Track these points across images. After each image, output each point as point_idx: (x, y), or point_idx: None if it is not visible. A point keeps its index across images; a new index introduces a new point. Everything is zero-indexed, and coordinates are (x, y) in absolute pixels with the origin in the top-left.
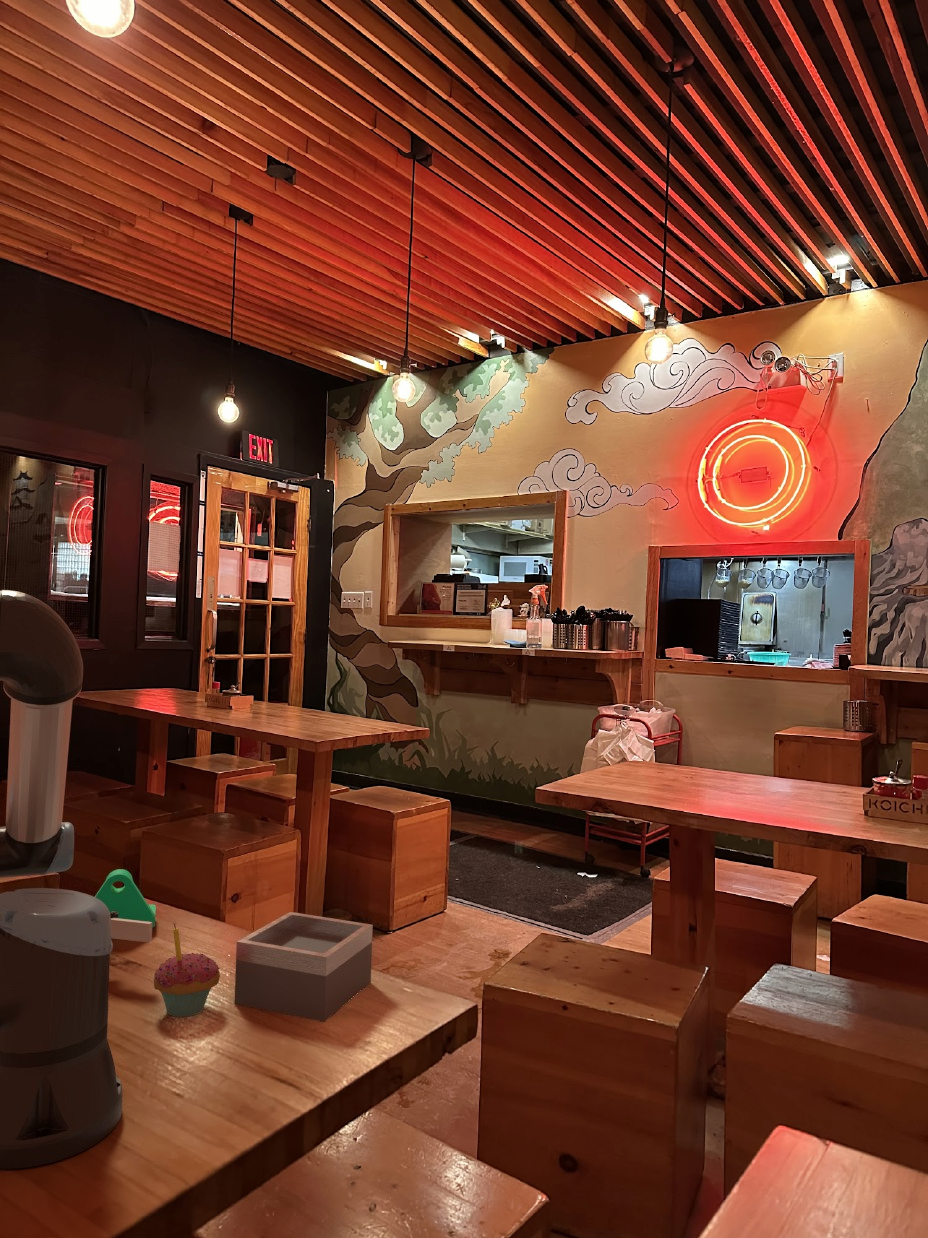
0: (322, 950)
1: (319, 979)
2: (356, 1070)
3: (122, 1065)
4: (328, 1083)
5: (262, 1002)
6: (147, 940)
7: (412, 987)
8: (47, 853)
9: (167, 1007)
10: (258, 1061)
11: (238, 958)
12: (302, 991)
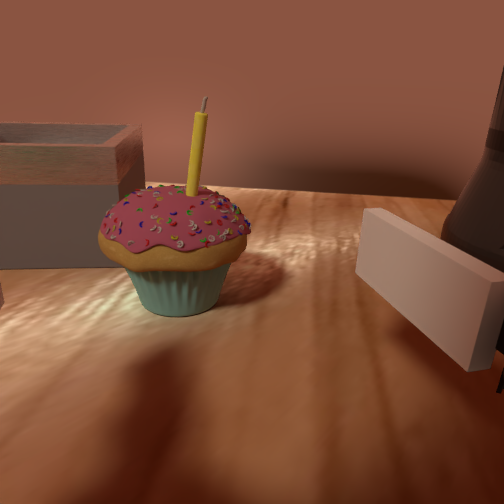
0: None
1: (142, 158)
2: (232, 189)
3: None
4: (265, 192)
5: None
6: (2, 296)
7: None
8: None
9: (219, 289)
10: (267, 217)
11: (118, 179)
12: (140, 185)
